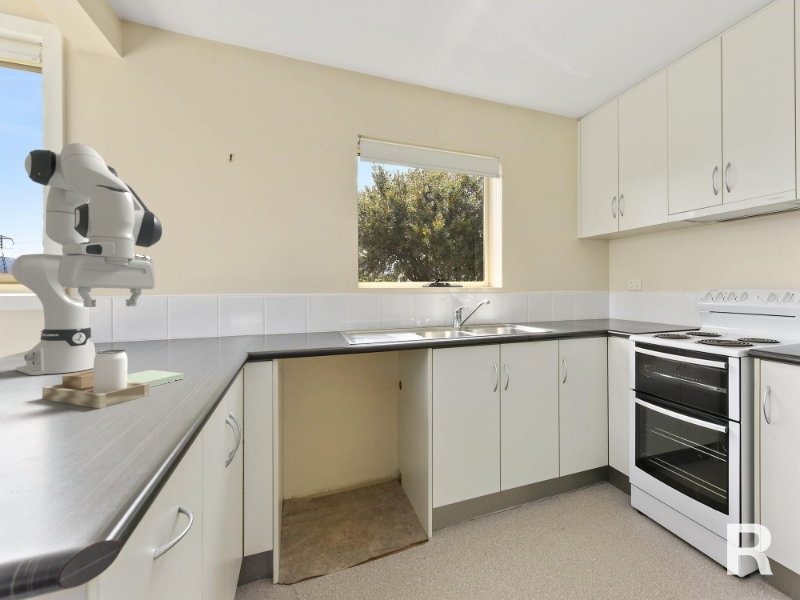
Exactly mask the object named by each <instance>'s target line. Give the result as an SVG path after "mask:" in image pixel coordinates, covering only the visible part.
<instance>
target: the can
mask: <svg viewBox="0 0 800 600" xmlns="http://www.w3.org/2000/svg"><path fill="white" fill-rule="evenodd" d="M93 371H94V382H93V392H95V393H106V392H111V391H115V390H119V389H124V388H127V374H128V355H127V353H126V349H107V350H99V351H95V358H94V368H93Z"/></svg>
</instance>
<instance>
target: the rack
mask: <svg viewBox="0 0 800 600" xmlns="http://www.w3.org/2000/svg"><path fill="white" fill-rule="evenodd" d="M60 387H62V383H57V384H52V385H47V386H42V388H41V389H42V393H41V394H42V395H41V396H42V398H41V400H45V401H52V402H57V403H58V402H59V403H65V404H71V405H77V406H83V407H89V408H94V409H95V408H96V409H102V408H107V407H111V406H113V405H114V406H115V405H118V404H121V403H125V402H130V401H132V400H137V399H140V398H144V397H147V396H150V388H149V384H147V383H139V382H130V381H127V388H124V389H119V390H115V391H111V392H106V393H95V392H93V389H91V390H86V391H81V390H74V389H67V388H60Z"/></svg>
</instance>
